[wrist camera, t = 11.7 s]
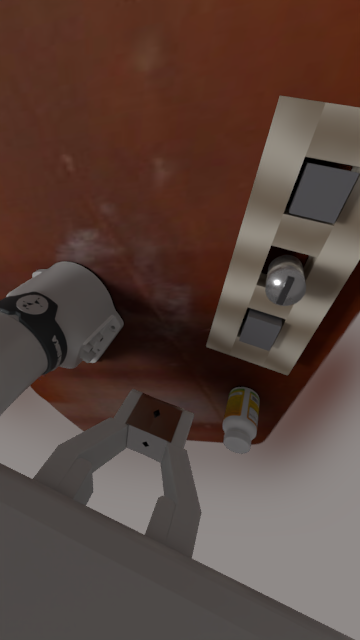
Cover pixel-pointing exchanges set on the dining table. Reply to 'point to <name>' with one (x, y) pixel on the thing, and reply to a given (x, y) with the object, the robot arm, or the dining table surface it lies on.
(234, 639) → the robot arm
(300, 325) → the mount
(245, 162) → the dining table surface
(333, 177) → the outer button
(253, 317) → the inner button
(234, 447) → the supplement bottle
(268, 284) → the steel dial
